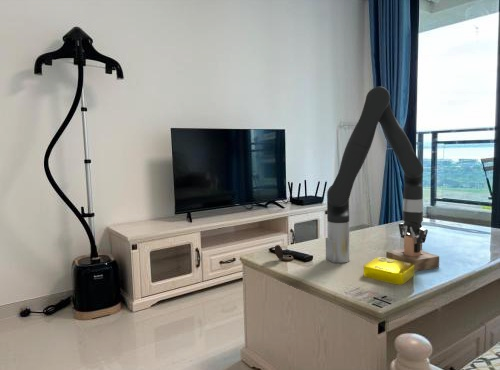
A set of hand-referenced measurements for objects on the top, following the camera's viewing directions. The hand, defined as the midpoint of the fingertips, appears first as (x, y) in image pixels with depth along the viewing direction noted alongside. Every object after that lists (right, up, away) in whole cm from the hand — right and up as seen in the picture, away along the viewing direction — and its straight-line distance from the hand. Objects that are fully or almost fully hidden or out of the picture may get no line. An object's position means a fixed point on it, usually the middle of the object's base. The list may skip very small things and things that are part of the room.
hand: (412, 250), depth 145 cm
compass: (-51, -7, +13) cm, 53 cm away
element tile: (-14, -8, -10) cm, 19 cm away
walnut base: (0, -6, +1) cm, 6 cm away
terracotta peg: (0, -2, 0) cm, 2 cm away
